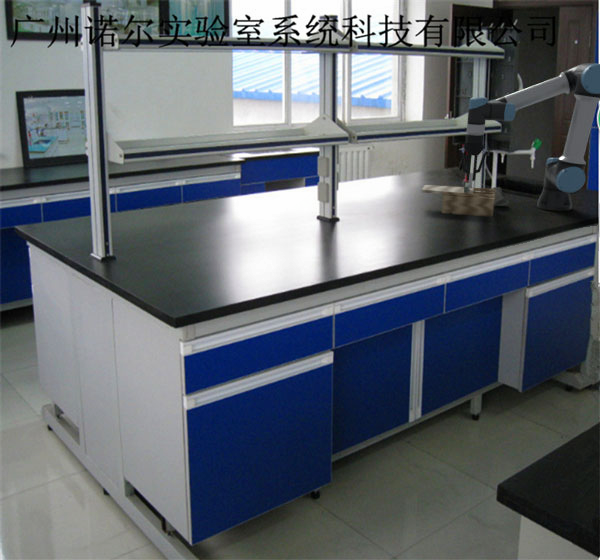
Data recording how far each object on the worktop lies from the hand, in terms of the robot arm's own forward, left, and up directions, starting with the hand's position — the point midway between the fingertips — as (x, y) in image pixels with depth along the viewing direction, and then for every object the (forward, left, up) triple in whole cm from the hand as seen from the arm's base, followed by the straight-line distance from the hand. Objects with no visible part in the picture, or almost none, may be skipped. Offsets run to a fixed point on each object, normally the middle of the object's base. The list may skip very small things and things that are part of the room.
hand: (470, 187), depth 317 cm
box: (0, 0, -11) cm, 11 cm away
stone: (-11, -16, -11) cm, 22 cm away
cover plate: (+9, 0, -2) cm, 10 cm away
